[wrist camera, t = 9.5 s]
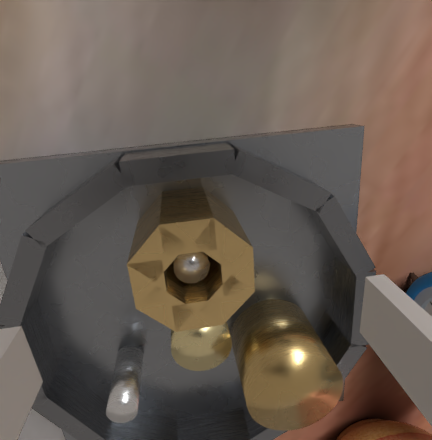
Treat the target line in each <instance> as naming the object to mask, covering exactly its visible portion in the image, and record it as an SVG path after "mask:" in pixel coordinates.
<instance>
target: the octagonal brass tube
mask: <svg viewBox="0 0 432 440" xmlns="http://www.w3.org/2000/svg"><path fill="white" fill-rule="evenodd" d="M196 252H204V253H206V254H207V256H208V260H209V265H210V269H209V272H208V274H207V276H206V277H205V278H204V279H203V280H201V281H199V282H197V283H185V282H182V281H181V280H179V279H178V278H177V277H176V275H175V273H174V264H173V261H174V260H175V258H176V257H177V256H178V255H180V254H188V253H196ZM127 267H128V272H129V277H130V282H131V287H132V292H133V297H134V302H135V307H136V309H137V310H139V311H141V312H142V313H144V314H146V315H148V316H149V317H151V318H153V319H154V320H156V321H158V322H160V323H161V324H163V325H165V326H167V327H168V328H170V329H172V330H173V331H175V332H179V331H186V330H192V329H199V328H205V327H212V326H218V325H224V324H225V323H226V321H227V320H228V319H229V318H230V317H231V316H232V315H233V314H234V313H235V312H236V311H237V310H238V309H239V308H240V307H241V306H242V305H243V304H244V302H245V301H246V300H247V299H248V298H249V297H250V296H251V295H252V294H253V293H254V292H255V281H254V258H253V247H252V245H251V243H250V241H249V239H248V237H247V236H246V234H245V232H244V230H243V228H242V226H241V225H240V223H239V221H238V219H237V217H236V215H235V214H234V212H233V210H231V209H230V208H229V207H228V206H226V205H225V204H224V203H223V202H221V201H220V200H219V199H217V198H216V197H215V196H214V195H212V194H211V193H210V192H209V191H207V190H206V189H205V188H203V187H198V188H189V189H180V190H171V191H163V192H161V194H160V195H159V196H158V197H157V199H156V200H155V201H154V202H153V204H152V205H151V206H150V207H149V209H148V210H147V211H146V212H145V214H144V215H143V216H142V217H141V218H140V220H139V221H138V223H137V227H136V231H135V234H134V238H133V242H132V246H131V250H130V254H129V258H128V262H127Z"/></svg>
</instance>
